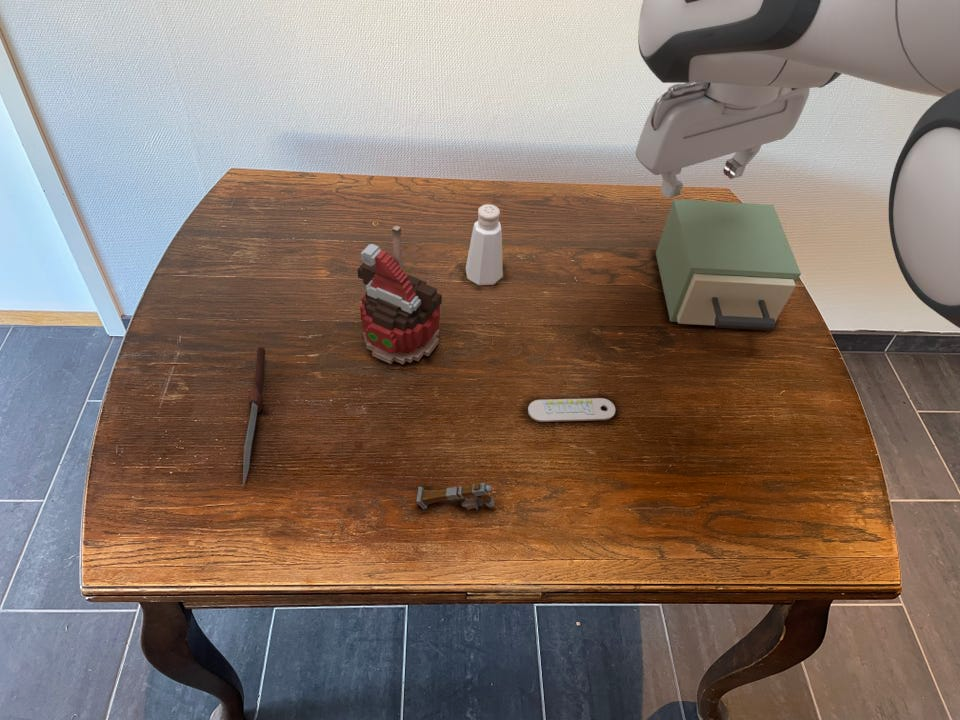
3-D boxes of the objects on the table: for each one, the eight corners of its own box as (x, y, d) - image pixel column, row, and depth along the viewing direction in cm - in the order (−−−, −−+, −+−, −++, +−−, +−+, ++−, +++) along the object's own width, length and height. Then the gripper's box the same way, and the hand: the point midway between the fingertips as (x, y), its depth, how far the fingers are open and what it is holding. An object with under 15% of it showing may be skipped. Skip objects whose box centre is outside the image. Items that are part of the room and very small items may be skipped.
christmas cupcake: (455, 331, 89) (460, 220, 76) (419, 380, 84) (417, 270, 70) (385, 301, 92) (378, 189, 78) (345, 346, 87) (330, 235, 73)
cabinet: (771, 327, 93) (801, 273, 86) (670, 321, 93) (691, 267, 85) (748, 258, 102) (773, 204, 94) (655, 253, 102) (673, 198, 94)
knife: (252, 491, 73) (247, 477, 71) (237, 492, 73) (231, 478, 71) (271, 358, 85) (267, 342, 83) (258, 358, 85) (253, 342, 82)
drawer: (781, 356, 89) (806, 313, 82) (684, 350, 88) (702, 307, 82) (750, 264, 100) (770, 221, 94) (663, 259, 99) (678, 215, 93)
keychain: (613, 396, 83) (618, 416, 81) (612, 399, 84) (617, 419, 82) (527, 398, 82) (530, 419, 80) (526, 401, 83) (529, 422, 81)
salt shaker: (470, 256, 99) (474, 193, 90) (507, 265, 98) (514, 201, 90) (459, 281, 95) (462, 218, 87) (497, 290, 95) (504, 227, 86)
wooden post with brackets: (502, 512, 72) (487, 491, 69) (433, 520, 75) (415, 500, 72) (503, 497, 73) (489, 475, 70) (435, 505, 76) (417, 485, 73)
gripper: (679, 104, 65) (646, 222, 76) (833, 66, 72) (783, 178, 83) (640, 74, 69) (613, 190, 79) (790, 40, 76) (747, 151, 86)
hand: (701, 184), depth 81 cm, fingers open, 8 cm apart
